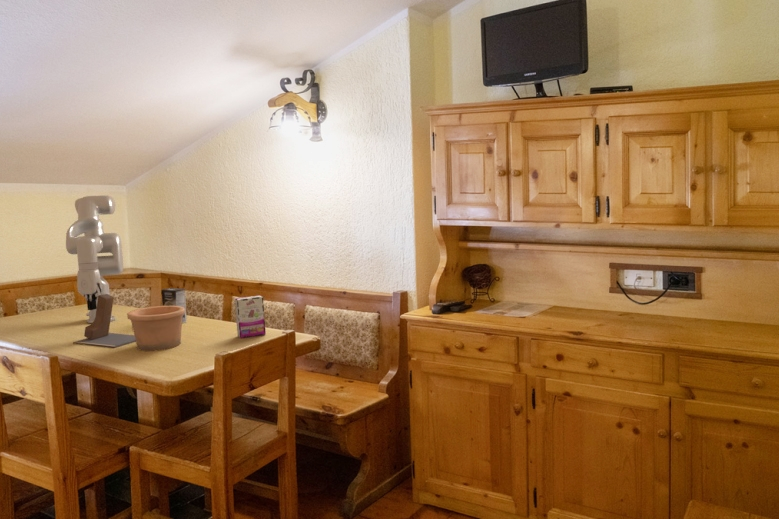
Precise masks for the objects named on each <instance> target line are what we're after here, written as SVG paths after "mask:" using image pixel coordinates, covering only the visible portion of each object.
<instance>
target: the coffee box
mask: <svg viewBox="0 0 779 519" xmlns="http://www.w3.org/2000/svg"><path fill="white" fill-rule="evenodd" d="M161 300H162V303H161V304H162V306H180V307H184V308H185V313H184V314H183V315H182V324H184V323H183V322H185V323H187V322H188V320H187V318H188V317H187V302H186V301H187V300H186V288H178V287H176V288H175V287H169V288H164V289H161ZM186 321H187V322H186Z"/></svg>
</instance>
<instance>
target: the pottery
mask: <svg viewBox="0 0 779 519" xmlns="http://www.w3.org/2000/svg"><path fill="white" fill-rule="evenodd" d="M184 313H185V308H184V307H180V306H163V305H158V306H156V305H155V306H149V307H142V308H137V309H134V310H131V311H129V312H127V314H126V315H127V316H126V317H127V320H129V321H131V326H132V330H133V335H135V339H136V342H135V343H136V348H137V349H138V350H139V351H144V352H155V350H157V351H163V350H164V349H165V350H169V349H173V348H176V347H178V346H179V345H181V343H182V329H183V328H182V327H183V323H182V315H183V314H184Z"/></svg>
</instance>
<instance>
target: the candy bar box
mask: <svg viewBox="0 0 779 519" xmlns="http://www.w3.org/2000/svg"><path fill="white" fill-rule="evenodd" d="M264 306H265V305H264V296H263V295H254V296H253V295H252V296H245V297H237V298H234V307H235V309H234V310H235V318H236V319H235V320H236V321H235V322H236V332H237V333H236V334H237V337H238V338H239V339H244V338H250V337H251V338H252V337H258V336H259V337H260V336H264V335H266V320H265V307H264Z"/></svg>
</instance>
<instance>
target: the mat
mask: <svg viewBox="0 0 779 519" xmlns="http://www.w3.org/2000/svg"><path fill="white" fill-rule="evenodd" d="M72 343H73V344H74V343H78V344H77V345H83V344H85V345H86V346H91V347H92V346H94V347H100V348H101V347H102V348H111V349H115V348H116V349H117V348H119V347H122V346H125V345H129V344H133V343H136V339H135V335H134V334H129V333H121V332H111V331H109V334H108V335H107V336H103V337H100V338H96V339H93V340H91V339H89V338H87V337H85V338H83V339H80V340H75V341H73V342H72Z"/></svg>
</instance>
